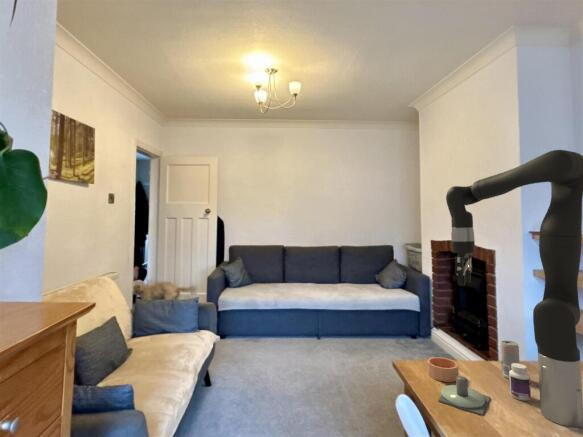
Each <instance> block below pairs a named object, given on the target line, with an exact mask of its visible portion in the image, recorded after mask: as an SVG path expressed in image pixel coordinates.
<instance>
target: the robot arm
mask: <svg viewBox="0 0 583 437" xmlns="http://www.w3.org/2000/svg"><path fill="white" fill-rule="evenodd" d="M539 183H550V190H551V194H550V195H551V196H550V198H551V199H550V202H549V206H548V208H547V211H546V212H545V214H544V217H543V219H542V222H541V224H540V228H539V238H538V239H539V241H538V246H539V248H538V252H539V258H540V261H541V264H542V269H543V273H544V289H543V296H542V300H541V301H539V302H538V303H537V304H536V305H535V306H534V308H533V311H532V314H533V315H532V317H533V318H532V322H533V323H532V324H533V332H534V334H533V335H534V341H535V344H536V346H537V347H536V348H537V364H538V367H537V368H538V384H539V402H540V403H539V407H540V413H541V415H542V416H543V417H545V418H546V419H547V420H549V421H552V422H553V423H556V424H559V425H561V426H566V427H572V428H576V427H577V428H581V429H583V386H582V371H581V369H582V368H581V366H582V365H581V350H580V349H579V346H578V343H577V342H578V341H577V331H576V330H577V329H576V327H577V325H578V324H579V323H580V320H581V310H580V300H579V292H578V291H579V289H578V280H579V273H580V266H581V256H582V243H583V242H582V239H583V237H582V235H583V234H582V232H583V231H582V230H583V229H582V228H583V226H582V223H583V155H582V154H580V153H579V152H577V151H576V152H575V151H572V150H571V151H570V150H565V149H553V150H550V151H547V152H545V153H543V154H541V155H539V156H537V157H535V158H533V159H531V160H529V161H527V162H525V163H522V164H520V165H518V166H516V167H514V168H511V169H508V170H506V171H503V172H500V173H497V174H494V175H491V176H488V177H485V178H482V179H479V180H476V181H475V182H473V184H470V185H467V186H460V185H454V186H451V187H450V188H449V189H448V190H447V192H446V195H445V200H446V205H447V209H448V211H449V215H450V218H451V233H450V234H451V238H450V239H451V252H452V253H454V254H457V256H454V274H456V276H457V285H458V286H460V287H465V286H466V284H467V283H468V284H469V283H471V282H472V278H471V276H472V275H471V273H472V271H473V262H472V260H473V259H472V257H473V256H472V254H474V253H476V244H475V241H476V239H475V230H474V217H473V214H472V212H470V211H467V208H466V206H470V205H473V204H476V203H478V202H481V201H483V200H488V199H492V198H495V197H499V196H502V195H505V194H507V193H510V192H512V191H513V190H515V189H518V188H521V187H523V186H528V185H533V184H539Z"/></svg>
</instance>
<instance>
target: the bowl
mask: <svg viewBox="0 0 583 437" xmlns="http://www.w3.org/2000/svg"><path fill="white" fill-rule="evenodd" d="M426 367H427V374H428V376H429V377H430V378H431V377H432V378H431V379H433V378H434V380H435V379H436V381H438V380H439V382H442V381H443V382H442V383H455V382H456V377H457V376H460V374H459V373H460V372H459V364H458V363H457V361H455V360H453V359H450V358H446V357H442V356H441V357H438V356H437V357H436V356H434V357H429V358H428V359H427V366H426ZM454 381H455V382H454Z"/></svg>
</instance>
